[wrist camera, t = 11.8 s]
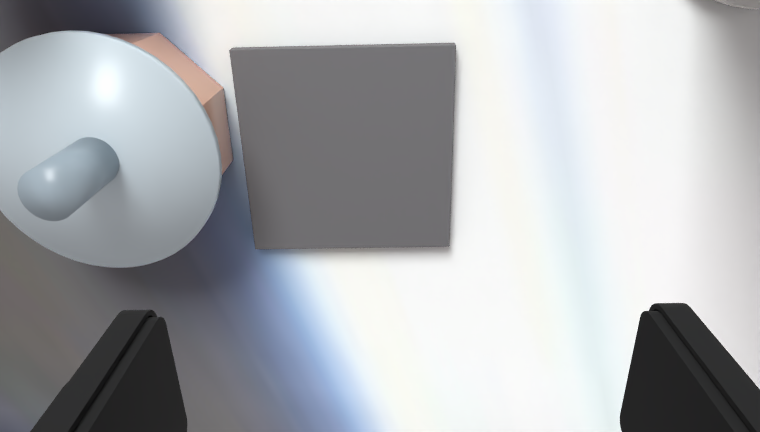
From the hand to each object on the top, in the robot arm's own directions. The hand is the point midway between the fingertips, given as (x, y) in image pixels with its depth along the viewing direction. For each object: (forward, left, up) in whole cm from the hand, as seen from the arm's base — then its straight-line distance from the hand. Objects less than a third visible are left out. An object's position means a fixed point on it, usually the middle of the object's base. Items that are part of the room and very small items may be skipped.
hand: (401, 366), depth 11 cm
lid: (+17, +3, -22) cm, 28 cm away
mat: (+3, +5, -28) cm, 29 cm away
